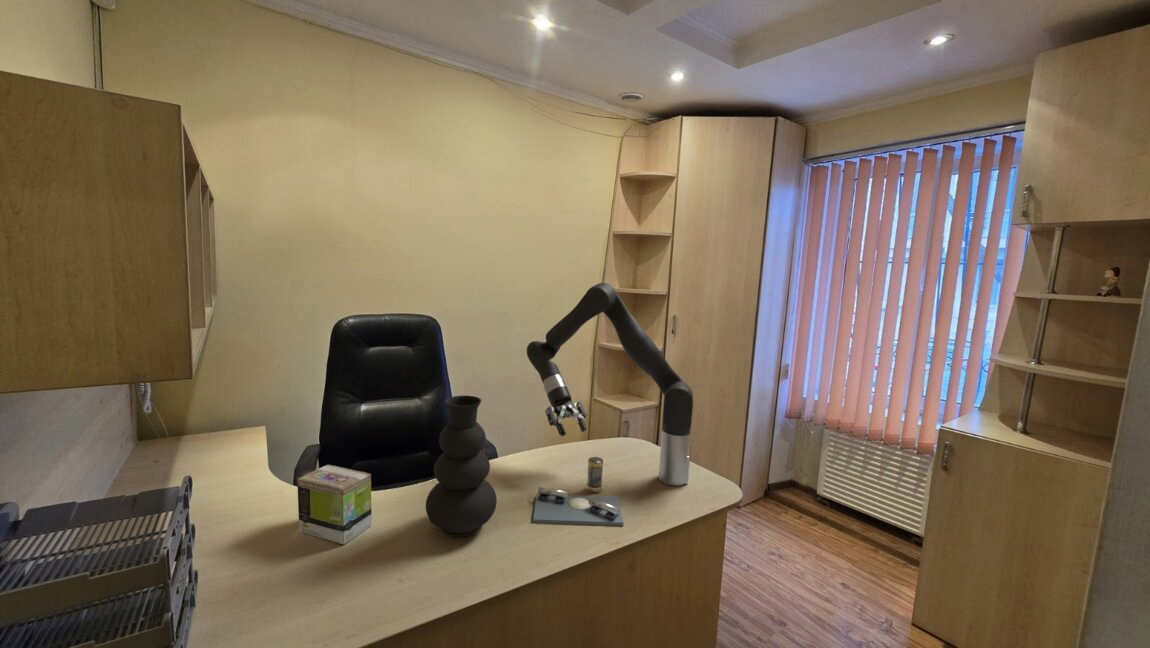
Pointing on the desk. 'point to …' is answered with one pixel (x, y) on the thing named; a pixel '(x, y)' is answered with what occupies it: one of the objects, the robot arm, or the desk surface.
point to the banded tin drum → (595, 475)
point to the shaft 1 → (552, 494)
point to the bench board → (574, 511)
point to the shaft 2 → (599, 506)
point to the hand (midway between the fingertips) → (574, 433)
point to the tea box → (334, 503)
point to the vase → (461, 473)
